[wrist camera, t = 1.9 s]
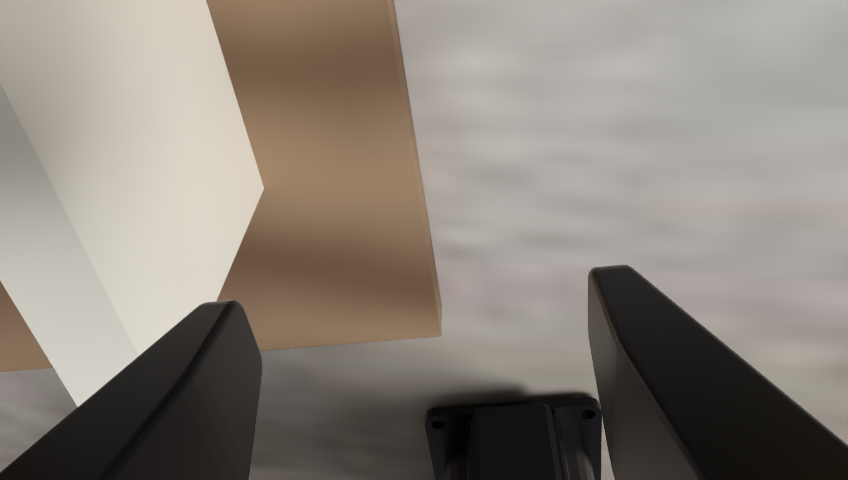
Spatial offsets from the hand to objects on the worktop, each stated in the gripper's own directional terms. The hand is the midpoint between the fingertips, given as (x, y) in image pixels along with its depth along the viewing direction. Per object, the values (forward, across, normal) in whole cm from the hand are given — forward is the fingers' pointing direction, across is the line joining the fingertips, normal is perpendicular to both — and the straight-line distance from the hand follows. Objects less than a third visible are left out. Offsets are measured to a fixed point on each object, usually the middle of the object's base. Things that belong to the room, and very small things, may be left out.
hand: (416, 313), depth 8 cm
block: (+10, +6, 0) cm, 12 cm away
